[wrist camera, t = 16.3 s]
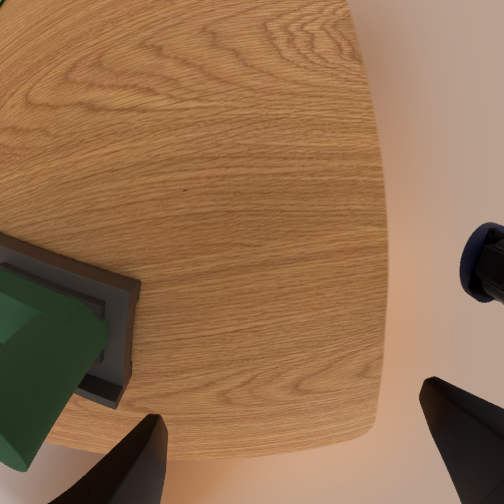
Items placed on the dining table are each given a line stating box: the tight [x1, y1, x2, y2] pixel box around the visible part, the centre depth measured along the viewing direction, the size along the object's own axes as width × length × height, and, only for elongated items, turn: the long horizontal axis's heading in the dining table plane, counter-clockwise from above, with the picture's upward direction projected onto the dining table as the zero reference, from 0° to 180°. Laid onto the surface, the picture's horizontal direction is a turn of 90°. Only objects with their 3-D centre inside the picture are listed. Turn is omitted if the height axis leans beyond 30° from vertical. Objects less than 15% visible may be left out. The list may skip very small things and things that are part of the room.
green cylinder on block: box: [0, 262, 109, 472], centre depth 13 cm, size 11×5×12 cm, turn 74°
